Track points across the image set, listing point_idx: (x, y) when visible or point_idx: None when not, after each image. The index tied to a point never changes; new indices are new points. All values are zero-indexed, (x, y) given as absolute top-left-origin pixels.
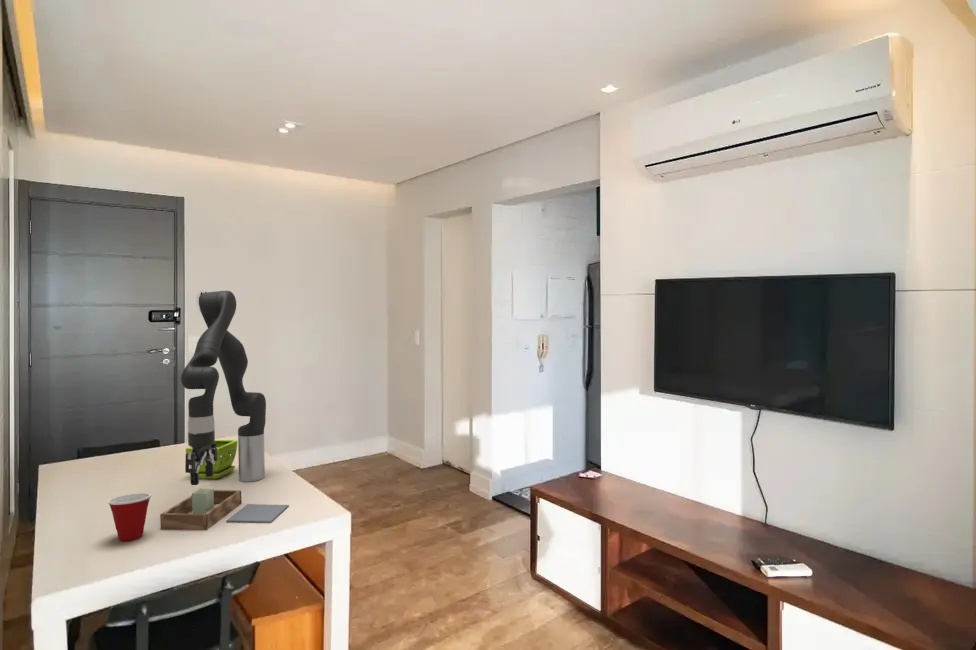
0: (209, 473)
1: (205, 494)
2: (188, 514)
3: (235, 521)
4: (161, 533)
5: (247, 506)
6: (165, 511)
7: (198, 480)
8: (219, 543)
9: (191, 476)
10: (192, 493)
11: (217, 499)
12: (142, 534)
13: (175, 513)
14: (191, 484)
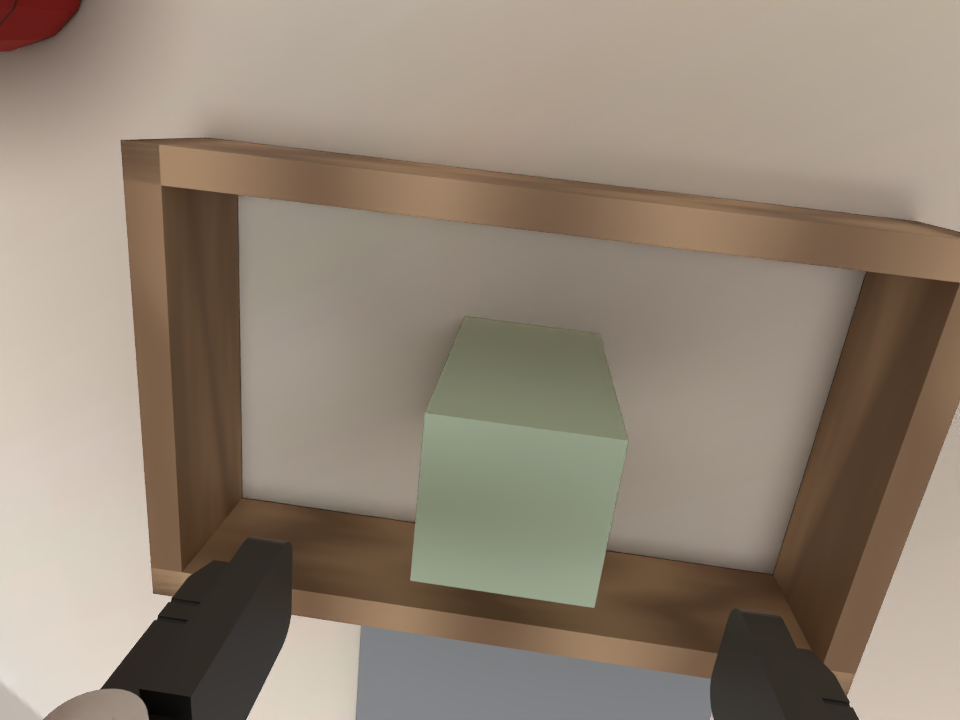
0: (733, 701)
1: (413, 566)
2: (151, 442)
3: (360, 665)
4: (123, 194)
5: (664, 680)
6: (210, 157)
7: (258, 679)
8: (25, 657)
9: (123, 677)
10: (426, 417)
11: (846, 430)
12: (48, 35)
13: (163, 302)
14: (254, 542)
